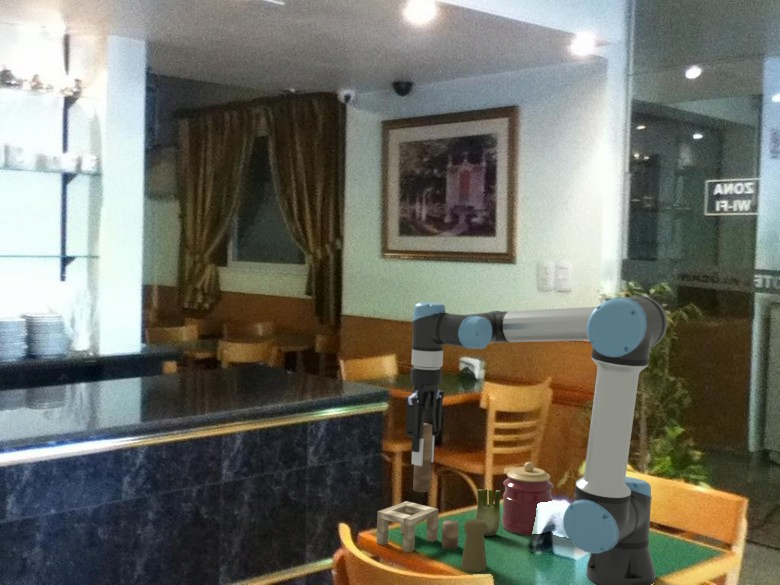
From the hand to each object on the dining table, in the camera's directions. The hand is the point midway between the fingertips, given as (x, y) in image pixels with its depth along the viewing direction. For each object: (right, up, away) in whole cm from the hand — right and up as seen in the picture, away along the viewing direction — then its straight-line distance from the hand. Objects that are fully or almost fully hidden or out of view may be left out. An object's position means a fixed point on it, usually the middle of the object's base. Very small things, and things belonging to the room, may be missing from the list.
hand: (422, 462), depth 230 cm
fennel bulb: (+17, -21, +14) cm, 30 cm away
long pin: (0, -7, 0) cm, 7 cm away
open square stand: (-4, -21, +7) cm, 22 cm away
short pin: (+7, -21, +4) cm, 23 cm away
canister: (+28, -21, +20) cm, 41 cm away
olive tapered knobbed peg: (+12, -23, -10) cm, 27 cm away
